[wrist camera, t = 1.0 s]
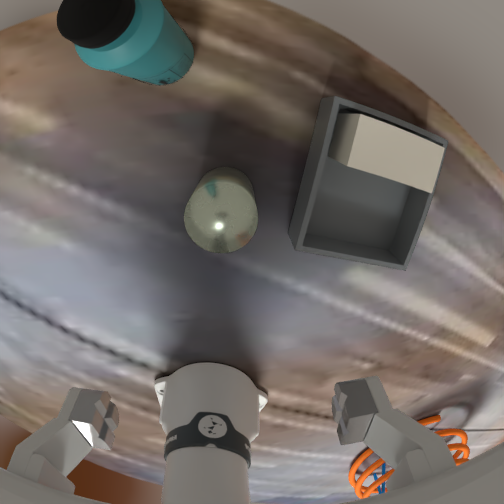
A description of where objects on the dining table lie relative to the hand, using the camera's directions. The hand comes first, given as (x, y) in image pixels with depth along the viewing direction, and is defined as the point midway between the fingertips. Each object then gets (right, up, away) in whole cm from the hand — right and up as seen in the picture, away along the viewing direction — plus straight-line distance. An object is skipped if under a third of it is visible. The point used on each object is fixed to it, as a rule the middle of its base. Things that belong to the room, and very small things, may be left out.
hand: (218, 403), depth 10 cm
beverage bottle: (-8, +26, +18) cm, 32 cm away
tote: (+14, +13, +24) cm, 31 cm away
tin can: (-2, +12, +25) cm, 27 cm away
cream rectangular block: (+15, +17, +22) cm, 31 cm away
